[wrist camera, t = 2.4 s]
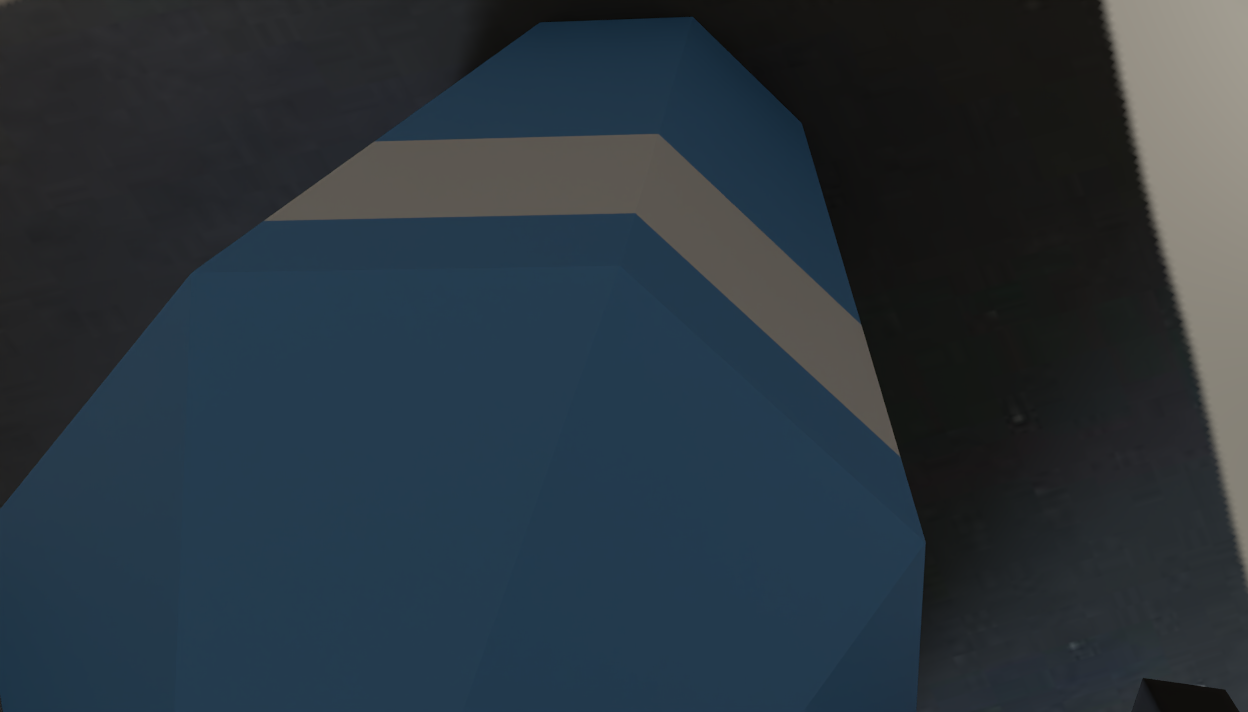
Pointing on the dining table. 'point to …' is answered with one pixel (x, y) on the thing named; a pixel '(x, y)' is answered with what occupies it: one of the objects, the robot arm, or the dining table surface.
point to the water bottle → (495, 429)
